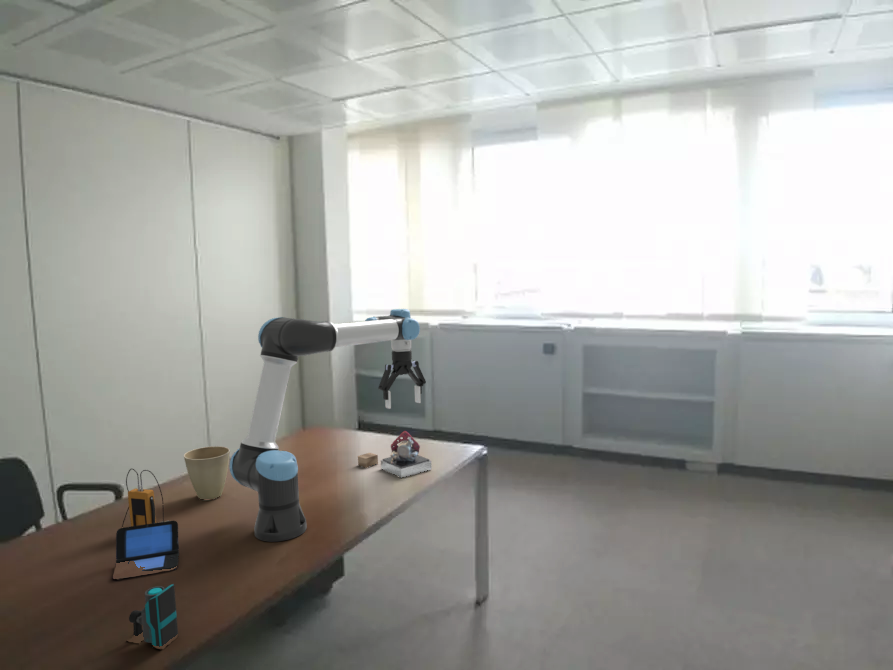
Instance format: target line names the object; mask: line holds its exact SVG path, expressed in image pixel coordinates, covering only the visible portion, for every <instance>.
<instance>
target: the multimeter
mask: <svg viewBox="0 0 893 670" xmlns="http://www.w3.org/2000/svg"><path fill="white" fill-rule="evenodd" d="M132 470H133V471H134V472H135V473H136V475H137V488H136V487H135V488H133V489H131V490H129V487H128V476H129V473H130V472H131V471H132ZM146 471H147V472H149V473H150V474H151V475H152V476H153V477H154V479H155V481H156V483H157V485H158V489H159V492H160V496H161V501H162V503H164V498H163V493H162V490H161V487H160V483H159V482H158V480H157V477H156V476H155V474H154V473H153V472H152V471H150V470H148V469H143V470H142V471H141V472H140V475H139V473H138V472H137V470H136V469H135V468H130V469H129V470H128V472H127V473H126V477H125V486H126V489H127V500H128V507H127V510H126V512H125V516H124V518H123V522H122V524H121V528H122V527H123V528H124V525H125V524H124V523H125V520H126V517H127V514H128V512H129V520H130V527H131V526H138V525H145V524H152V523H157V517H156V514H157V513H156V504H155V503H156V502H155V492H154V490H153V489H145V488H144V486H143V482H142V481H143V480H142V474H143V473H144V472H146ZM139 476H140V477H139ZM139 478H140V480H139ZM164 510H165V509H164V506H162V522H165V521H164Z"/></svg>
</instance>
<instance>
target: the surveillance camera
mask: <svg viewBox="0 0 893 670" xmlns="http://www.w3.org/2000/svg"><path fill="white" fill-rule="evenodd" d="M175 590H176V588H175V584H174V583H172V584H169V585H168V586H167V587H164V586H162V585H156V586H153V587H149V588H148V589H146V590H145V591H144V600H145V604H144V608H142V609H141V610H137V609H136V610H132V611H131V612H130V614H129V616H128V621H129V622H130V623H131V624H133V634H132V636H133V635H135V636H138V635H139V634H141V633H142V632H143V637H144V641H143V642H145V643H149V644H151V645H154V646H159V647H160V646H163V645H164V644H166V643H167V642H168V641H169V640H170V639H172V638H173V637H175V636H176V635H177V634H178V635H179V628H178V616H177V604H176V591H175Z"/></svg>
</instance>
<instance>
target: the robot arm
mask: <svg viewBox="0 0 893 670" xmlns="http://www.w3.org/2000/svg"><path fill="white" fill-rule="evenodd" d="M420 327H421V325H420V323H419V322H418V320H416V319H415V318H411V311H410V309H408V308H395V309H391V310H390V312H389V315H383V316H381V315H380V316H371V317H367V318H366V319H365V320H363V321H352V322H351V321H349V322H338V323H333V322H332V321H329V320H325V321H324V320H323V321H317V320H309V319H303V318H293V317H285V316H284V317H283V316H280V317H274V318H270V319H268V320H267V321H266V322H264V323H263V324H262V325H261V326H260V328H259V330H258V335H257V338H258V339H257V340H258V343H259V345H260V347H261V350H260V355H259V356H260V357H261V359H262V361H263V366H262V369H261V374H260V378H259V382H258V387H257V391H256V396H255V401H254V405H253V410H252V415H251V419H250V423H249V428H248V432H247V436H246V437H245V438H244V439H242V440H241V441H240V444H239V448H238V449H236V451H235V452H233V453H232V455H231V457H230V458H229V464H228V469H229V472H230V476H231V477H232V479H234V481H236V482H237V483H238V484H240V485H241V486H243V487H245V488H246V487H247V488H249V489H251V490H252V491H255V492H256V493H257V495H258V498H257V499H258V512H257V516H256V519H255V524H254V528H253V529H254V531H253V532H254V537H255V538H256V539H257V540H260V541H263V542H271V543H272V542H275V543H276V542H283V541H288V540H292V539H294V538H295V539H296V538H298V537H300V536H301V535H303V534H304V533H305V532H306V531H307V526H308V525H307V519H306V516H305V515H304V512H303V509H302V507H301V504H300V493H299V492H300V490H299V477H298V476H299V473H298V472H299V467H298V462H297V457H296V456H295V455H294V453H291V452H289V451H286V450H280V449H279V445H278V444H277V443H276V439H277V434H278V429H279V424H280V420H281V414H282V410H283V406H284V401H285V398H286V392H287V386H288V382H289V379H290V375H291V369H292V367H293V366H294V365H296V364H297V363H298V359H299V357H304V356H310V355H315V354H321V353H326V352H327V353H328V352H332V351H334V350H335V348H342V347H350V346H357V345H358V346H359V345H365V344H374V343H381V342H390V343H391V344H390V345H391V350H392V351H391V360H392V364H388V363H386V364H385V365H384V372H383V374H382V377H381V380H380V381H379V385H378V390H379V391H382V393H383V394H382V395H383V400H384V401H385V403H384V404H385V405H384V406H385V408H386V409H387V410H390V409H392V396H391V395H392V394H391V391H390V389H391V388H392V386H393V385H394V382H395V381H396V379H397V378H398V377H399V376H402V375H408V376H409V377H410V379H411V380H412V381H413V382H414V383H415V385H414V402H415V403H417V404H421V403H422V402H421V400H422V399H421V394H422V393H423V390H422V389H423V388H422V387H423V386H424V385H425V384H426V383H427V380H426V378H425V376H424V374H423V372H422V370H421V368H420V363H419V361H418V360H413V356H412V352H413V351H412V350H411V349H412V341H413V340H415V339H417V337H419V335H420V332H421V331H420V330H421V328H420ZM412 368H413V369H412ZM413 370H414V371H413Z"/></svg>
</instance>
